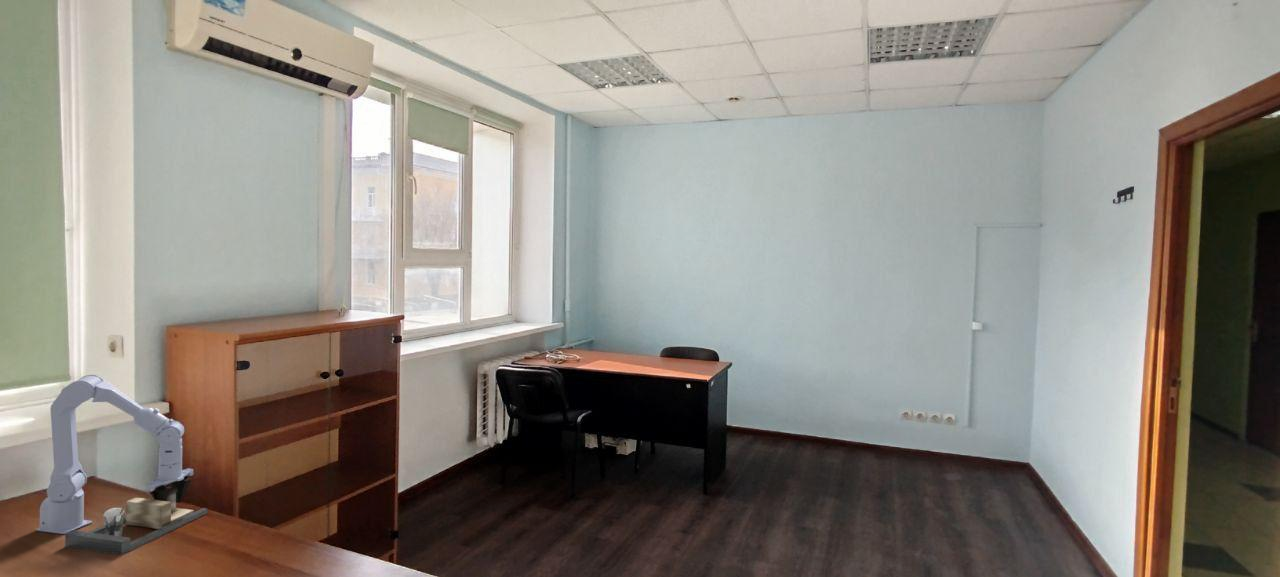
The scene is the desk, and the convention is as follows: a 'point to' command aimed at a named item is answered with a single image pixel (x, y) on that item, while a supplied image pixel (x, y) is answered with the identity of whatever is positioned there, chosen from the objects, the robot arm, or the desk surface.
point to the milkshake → (114, 521)
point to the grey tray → (120, 544)
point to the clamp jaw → (154, 511)
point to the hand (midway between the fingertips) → (169, 505)
